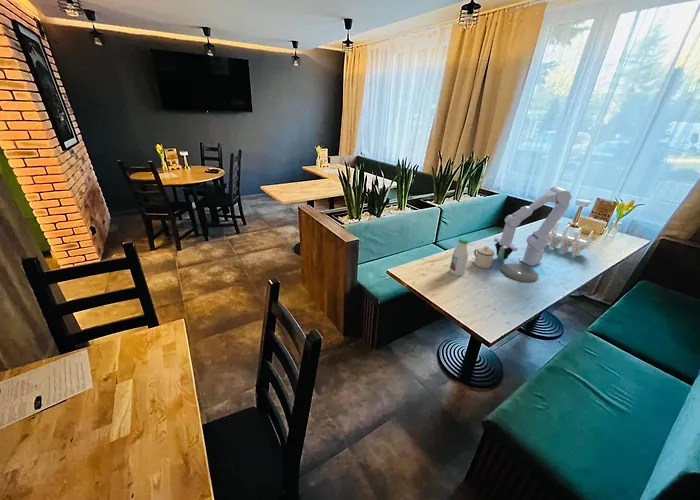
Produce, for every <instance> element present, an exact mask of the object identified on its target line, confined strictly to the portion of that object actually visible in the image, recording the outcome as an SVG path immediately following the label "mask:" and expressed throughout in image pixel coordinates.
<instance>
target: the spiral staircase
mask: <svg viewBox="0 0 700 500" xmlns="http://www.w3.org/2000/svg"><path fill="white" fill-rule="evenodd" d="M559 225H560V221H558V222H557V223H556V225H555V226H554V227H553V229H552V230H551V232H550V233H549V234H548V236H547V238H548V241H547V243H546V245H548V244H549V247H550V250H551V249H552V250H555V249H556V248H557V247H559V246H560V248H559V249H560V252H561V253H564V254H565V253H566V252H567V253H569V250H570V248H571V254H572V255H571V256H572V257H574V258H577V256H578V255H579V256H580V254H581V253H582V251H584V250H585V249H589V248H590V246H591V243H592V237H593V235H594V230H592V231H591V232H589V234H588V236H587V239H586V240H584V239H580V234H581V233H582V229H583V228H582V227H580V228H578V230H577V232H575V235H574V237H571V236H569V229H570V227H571V226H570V225H571V224H570V223H569V224H567V225H566V227H565V228H564V229H563V233H562V234H559V233H557V232H558V231H559V230H558V229H559Z"/></svg>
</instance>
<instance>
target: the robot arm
mask: <svg viewBox="0 0 700 500" xmlns="http://www.w3.org/2000/svg"><path fill="white" fill-rule="evenodd" d="M572 199H573V198H572V194H571V192H570V191H569V190H566V189H564V188H562V187H561V186H558V185H557V186H553V187H551V188H549V189H548V190H546V192H545V193H544V194H543V195H541V197H539V198H537V199H536V200H535V201H533V202H532V203H531V204H529V205H524V206H521V207H520V209H518V210H516V211H515V212H513V213H512V214H508V215H507V216H506V217H505V218H504V223H505V224H504V227H503V231H502V234H501V235H502V236H501V238H498V237H494V239H493V242H496V243H495V244H494V246H495V251H496V256H498V253H499V249H500V247H501V246H504V247H507V248H505V254H504V258H503V259H505V260H507V259H508V258H509V256H510V255H511V254H512V252H517V251H518V249H519V248H518V247H517V246H516V245H515V244H513V243H512V242H513V240H514V236H515V233H516V229H517V227H519V226H520V224H521V223H522V222H523V221H524V220H525V219H527V218H529V216H532V214H533V212H534V211H535V210H537V209H539V208H541V207H542V206H544V205H546V204H548V203H550V204H551V203H552V204H553V203H554V206H553V207H552V210H551V211H550V213H549V214H548V215H547V216H546V218H545V219H544V220H543V222H542V224H541V226H539V228H538V230H535V231H533V232H532V234H530V235H529V236H528V237H527V239H526V243H527V244H526V245H527V246H526V248H525V251H524V254H523V257H522V258H519V259H518V260H519V261H521V262H522V263H524V264H527V265H529V266H532V267H533V266H535V265H540V264H543V262H542V259H543V256H544V252H545V251H544V249H545V248H546V246H547V244H546V243H547V241H548V238H547V236H548V234H549V233H550V232H552V230H553V227H554V226H555V225H556V223H557V222H560V219H561V218H562V217H563V216H564V214H565V212H566V211H567V210H568V208H569V207H570V202H571V201H570V200H572Z"/></svg>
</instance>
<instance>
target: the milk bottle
mask: <svg viewBox="0 0 700 500" xmlns="http://www.w3.org/2000/svg"><path fill="white" fill-rule="evenodd" d="M468 244H469V239H468V238H466V237H459V238H458V245H457V246H456V247H455V248H454V250H453V253H452V255H451V262H450V266H449V270H448V271H449V273H450V274H451V275H453V276H456V277H461V276H464V275H465V271H466V268H467V262H468V258H469V249H468Z"/></svg>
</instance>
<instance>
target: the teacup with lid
mask: <svg viewBox="0 0 700 500" xmlns="http://www.w3.org/2000/svg"><path fill="white" fill-rule="evenodd" d="M473 255H474V257H475V259H474V265H475V266H477V267H478V268H480V269H488V268H491V267H492V266H491V265H492V262H493V259H494V255H495V251H494V249H492V248H490V247H489V246H488V245H485V246H480V247H478V248H476V249H474V250H473Z"/></svg>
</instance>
